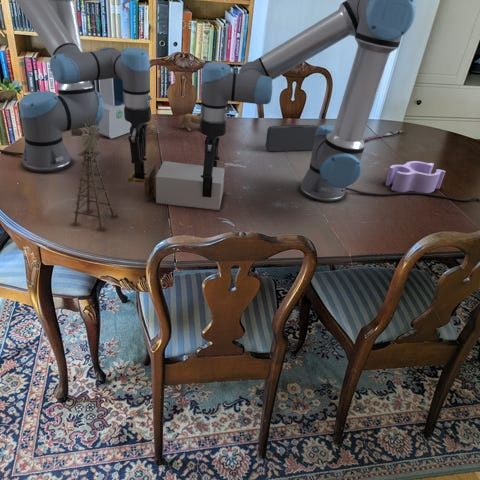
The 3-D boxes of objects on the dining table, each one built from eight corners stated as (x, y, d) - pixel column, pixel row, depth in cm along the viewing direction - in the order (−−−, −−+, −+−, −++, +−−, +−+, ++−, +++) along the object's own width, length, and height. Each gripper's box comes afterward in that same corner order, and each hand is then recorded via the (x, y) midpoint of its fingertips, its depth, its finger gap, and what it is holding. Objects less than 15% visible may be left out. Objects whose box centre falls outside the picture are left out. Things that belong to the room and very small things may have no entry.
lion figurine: (209, 126, 205) (210, 106, 200) (212, 130, 201) (214, 110, 196) (176, 127, 200) (177, 107, 195) (179, 132, 196) (180, 111, 191)
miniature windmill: (101, 230, 128) (92, 124, 112) (72, 224, 129) (59, 119, 113) (115, 214, 135) (109, 113, 119) (88, 209, 136) (78, 108, 120)
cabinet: (156, 203, 144) (155, 176, 139) (163, 186, 153) (163, 161, 148) (219, 210, 144) (221, 183, 139) (222, 193, 153) (224, 168, 148)
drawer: (126, 196, 144) (125, 174, 140) (134, 181, 152) (134, 161, 149) (204, 204, 144) (205, 183, 140) (208, 190, 152) (209, 169, 148)
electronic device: (109, 139, 182) (104, 59, 166) (96, 134, 185) (89, 55, 169) (132, 131, 192) (129, 55, 175) (118, 127, 195) (114, 51, 178)
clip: (398, 195, 164) (404, 177, 160) (379, 179, 174) (383, 162, 170) (444, 191, 170) (450, 174, 166) (423, 176, 180) (428, 160, 176)
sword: (399, 131, 224) (400, 128, 223) (404, 133, 222) (405, 130, 221) (355, 142, 208) (356, 139, 207) (360, 144, 206) (361, 142, 205)
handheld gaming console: (315, 147, 196) (319, 124, 190) (317, 149, 194) (322, 126, 188) (264, 149, 189) (267, 125, 183) (266, 152, 187) (269, 127, 181)
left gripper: (144, 114, 128) (146, 191, 141) (155, 101, 139) (156, 173, 152) (117, 112, 128) (122, 188, 141) (130, 98, 139) (133, 171, 152)
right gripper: (222, 135, 124) (216, 207, 136) (230, 108, 144) (224, 173, 156) (194, 132, 124) (191, 204, 136) (206, 106, 144) (202, 170, 156)
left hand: (139, 180), depth 146 cm, fingers closed
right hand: (209, 187), depth 146 cm, fingers closed on cabinet, 11 cm apart
